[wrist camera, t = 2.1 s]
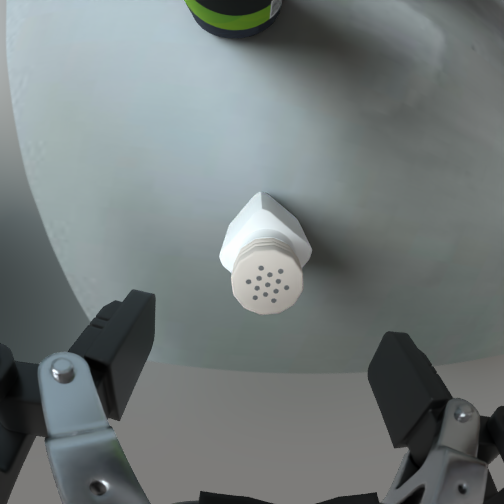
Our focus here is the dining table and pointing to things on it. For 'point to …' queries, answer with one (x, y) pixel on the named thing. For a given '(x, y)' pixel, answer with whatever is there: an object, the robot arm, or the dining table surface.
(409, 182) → the dining table surface
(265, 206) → the salt shaker
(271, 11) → the beverage can
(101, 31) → the dining table surface
